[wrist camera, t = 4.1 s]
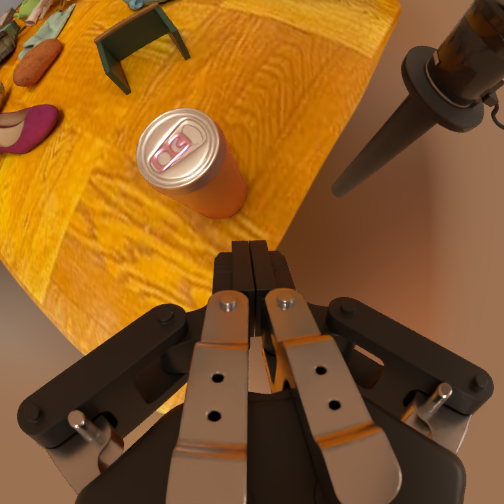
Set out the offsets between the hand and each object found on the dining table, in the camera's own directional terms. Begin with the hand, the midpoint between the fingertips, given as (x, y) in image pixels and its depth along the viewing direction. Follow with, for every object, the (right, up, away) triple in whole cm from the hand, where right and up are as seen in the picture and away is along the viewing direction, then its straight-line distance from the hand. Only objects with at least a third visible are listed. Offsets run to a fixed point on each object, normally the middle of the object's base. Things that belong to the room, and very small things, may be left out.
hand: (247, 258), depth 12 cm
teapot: (-69, +76, +23) cm, 105 cm away
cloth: (-51, +55, +22) cm, 78 cm away
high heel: (-43, +22, +21) cm, 53 cm away
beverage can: (-3, +7, +18) cm, 20 cm away
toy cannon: (-60, +73, +22) cm, 97 cm away
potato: (-43, +39, +21) cm, 62 cm away
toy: (-71, +55, +16) cm, 91 cm away
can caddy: (-15, +29, +19) cm, 38 cm away
